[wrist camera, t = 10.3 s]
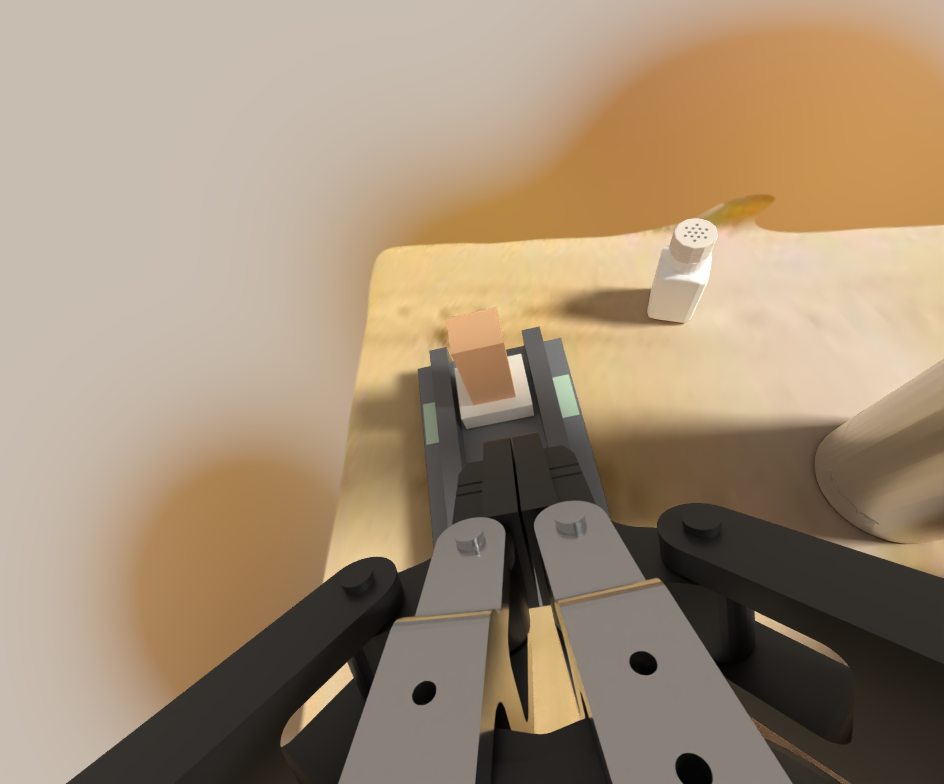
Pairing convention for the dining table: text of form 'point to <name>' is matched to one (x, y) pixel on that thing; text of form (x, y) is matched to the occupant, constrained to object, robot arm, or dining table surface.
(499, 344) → the switch lever
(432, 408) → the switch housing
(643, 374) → the dining table surface
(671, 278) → the salt shaker
